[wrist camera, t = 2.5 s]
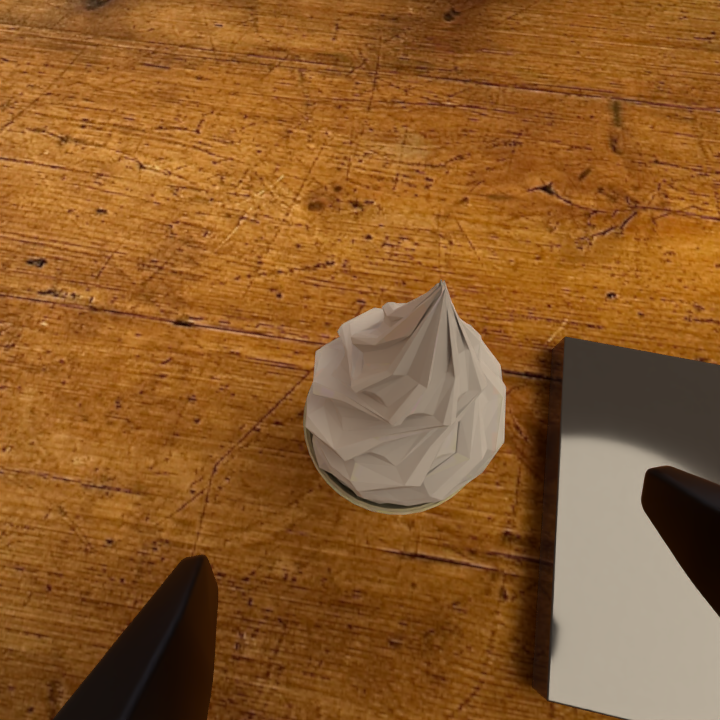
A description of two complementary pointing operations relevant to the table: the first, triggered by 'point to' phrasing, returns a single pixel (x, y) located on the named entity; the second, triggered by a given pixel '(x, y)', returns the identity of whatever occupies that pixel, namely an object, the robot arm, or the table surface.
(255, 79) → the table surface
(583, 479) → the serving board
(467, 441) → the ice cream cone
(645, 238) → the table surface
